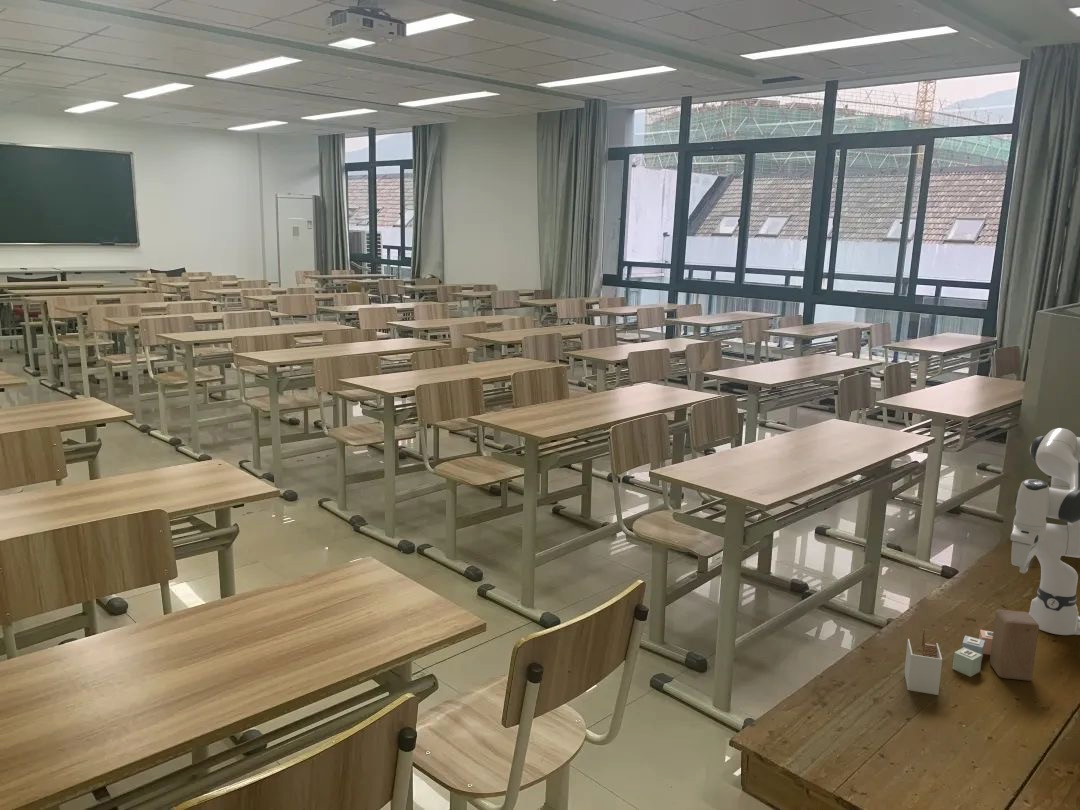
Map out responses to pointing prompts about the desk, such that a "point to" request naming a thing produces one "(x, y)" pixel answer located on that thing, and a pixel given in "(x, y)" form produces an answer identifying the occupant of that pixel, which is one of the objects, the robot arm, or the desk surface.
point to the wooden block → (1014, 644)
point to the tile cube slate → (974, 644)
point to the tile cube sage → (967, 661)
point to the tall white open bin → (923, 669)
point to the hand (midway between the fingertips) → (1023, 571)
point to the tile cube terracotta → (986, 640)
